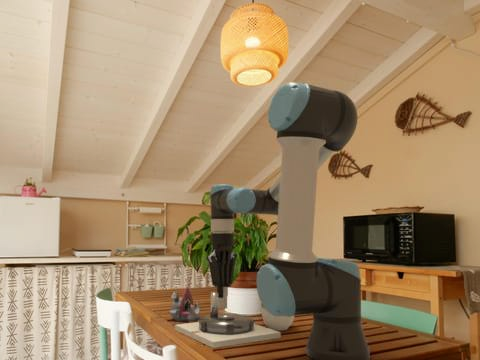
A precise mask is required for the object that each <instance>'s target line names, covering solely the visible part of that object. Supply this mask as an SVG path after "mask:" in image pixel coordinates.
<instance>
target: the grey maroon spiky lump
mask: <svg viewBox="0 0 480 360" xmlns="http://www.w3.org/2000/svg"><path fill="white" fill-rule="evenodd" d="M170 298H171V299H172V303H171V310H168V311H167V313H168V314H169V315H170V316H171V317H172V318H173V319H174V320H175V322H195V321H196V320H199V317H201V309H200V306H199V303H198V302H195V303H194V299H193V296H192V293H191V292H190V288H189V286H186V287H185V289H184V291H183V294H182V297H179V293H178V291H174V292H172V295H171V297H170Z"/></svg>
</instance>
